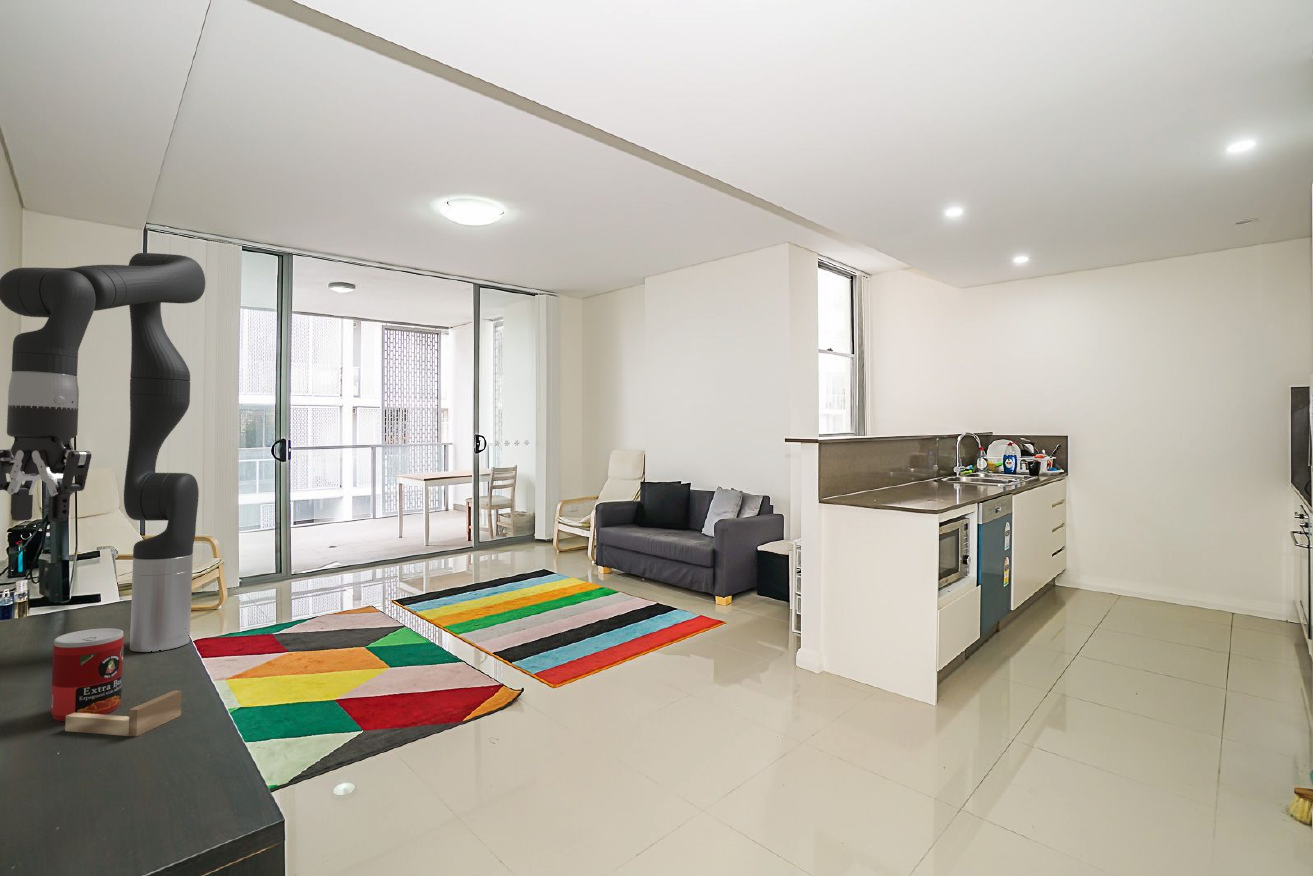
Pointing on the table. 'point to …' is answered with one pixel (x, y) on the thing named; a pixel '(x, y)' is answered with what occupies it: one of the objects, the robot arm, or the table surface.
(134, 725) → the bar
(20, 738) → the table surface
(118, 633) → the canned food
